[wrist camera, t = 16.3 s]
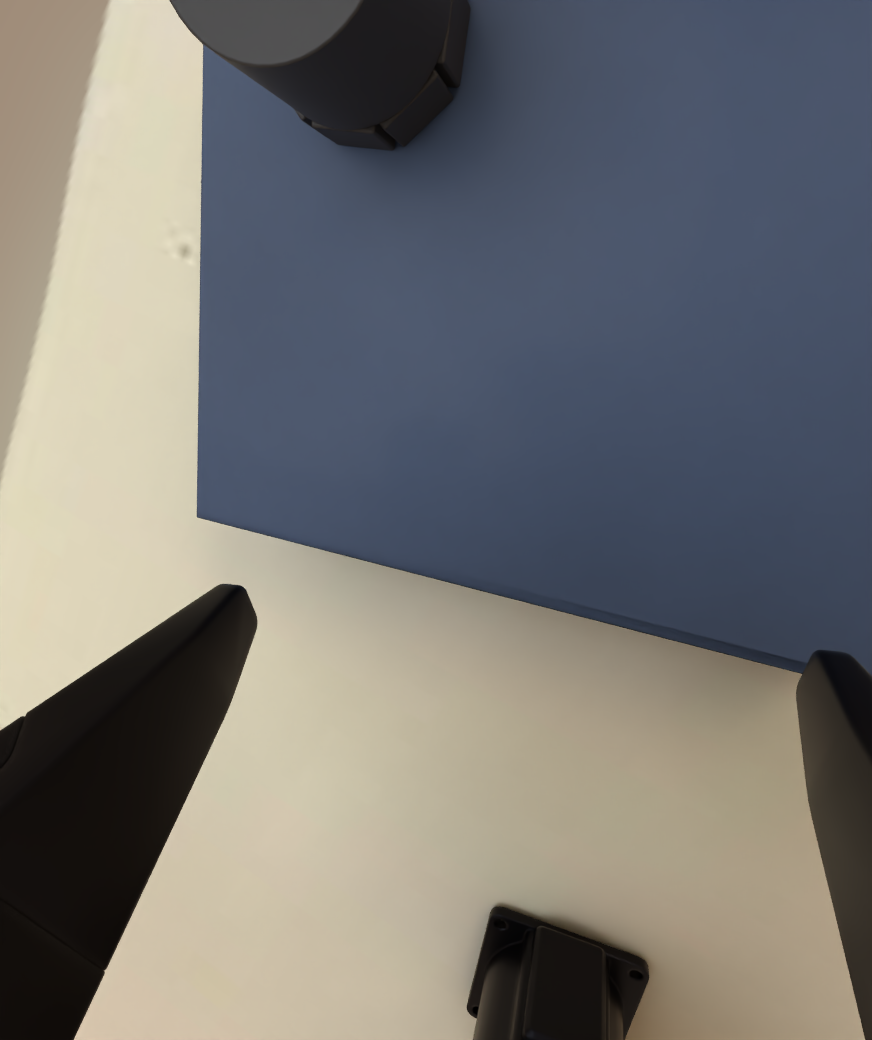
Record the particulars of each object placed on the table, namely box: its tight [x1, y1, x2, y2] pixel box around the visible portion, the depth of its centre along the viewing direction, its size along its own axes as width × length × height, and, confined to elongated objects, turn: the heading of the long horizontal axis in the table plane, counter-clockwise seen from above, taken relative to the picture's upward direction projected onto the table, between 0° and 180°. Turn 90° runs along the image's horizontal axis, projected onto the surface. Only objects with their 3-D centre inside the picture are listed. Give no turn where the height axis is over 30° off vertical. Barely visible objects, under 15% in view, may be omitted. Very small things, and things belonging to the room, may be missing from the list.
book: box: [197, 0, 872, 675], centre depth 16 cm, size 16×20×4 cm
